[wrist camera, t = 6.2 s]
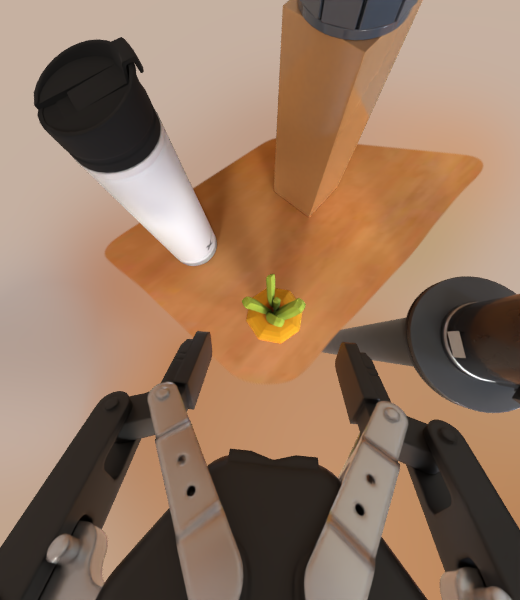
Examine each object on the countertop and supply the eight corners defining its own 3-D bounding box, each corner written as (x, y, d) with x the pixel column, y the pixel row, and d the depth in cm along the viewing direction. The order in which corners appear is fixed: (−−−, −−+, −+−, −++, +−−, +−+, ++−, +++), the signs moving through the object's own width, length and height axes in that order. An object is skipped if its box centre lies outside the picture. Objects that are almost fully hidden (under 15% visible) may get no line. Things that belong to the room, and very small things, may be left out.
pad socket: (342, 185, 32) (523, -192, 9) (308, 221, 31) (423, -105, 8) (302, 157, 33) (380, -237, 11) (269, 192, 32) (276, -165, 10)
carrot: (245, 330, 28) (222, 315, 13) (265, 299, 29) (265, 252, 14) (277, 351, 27) (290, 360, 13) (297, 319, 28) (332, 292, 13)
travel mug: (227, 251, 30) (157, 82, 11) (186, 274, 30) (34, 142, 10) (206, 217, 32) (109, 10, 12) (166, 239, 31) (-4, 60, 11)
